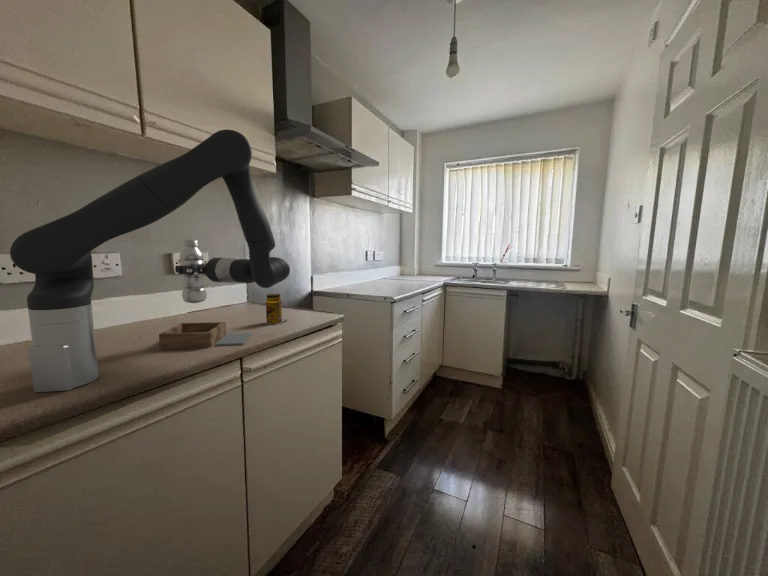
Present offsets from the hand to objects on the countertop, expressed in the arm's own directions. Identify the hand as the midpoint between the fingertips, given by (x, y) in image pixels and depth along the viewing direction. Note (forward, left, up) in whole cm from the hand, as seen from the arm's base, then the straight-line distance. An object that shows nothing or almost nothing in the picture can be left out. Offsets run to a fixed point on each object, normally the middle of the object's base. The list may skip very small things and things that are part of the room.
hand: (187, 268), depth 94 cm
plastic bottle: (-1, -2, -11) cm, 11 cm away
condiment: (+23, -23, -24) cm, 40 cm away
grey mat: (-1, -14, -24) cm, 27 cm away
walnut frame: (-1, -2, -24) cm, 24 cm away
